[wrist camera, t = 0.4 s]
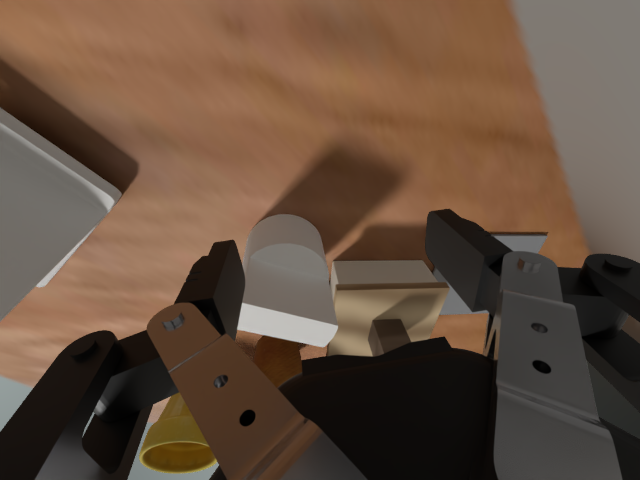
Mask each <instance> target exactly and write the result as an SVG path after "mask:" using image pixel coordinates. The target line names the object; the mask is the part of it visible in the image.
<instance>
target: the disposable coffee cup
mask: <svg viewBox="0 0 640 480" xmlns="http://www.w3.org/2000/svg"><path fill="white" fill-rule="evenodd" d="M253 362H254V363H255V365H256V366H257V367H258V368H259V369H260V370H261V371H262V372H263V373H264V374H265V376H266V377H267V378H268V379H269V380H270V381H271V382H272V383H273V384H274V385H275V387H276V388H278V387H279V386H280V385H281V384H283V383H284V382H285V381H287V380H288V379H290V378H292V377H293V376H295V375H297V374H299V373H302V361H301V356H300V351H299V346H298V342H295V341H290V340H286V339H281V338H276V337H271V336H266V335H265V336H264V337H262V338H261V339H260V340H259V341H258V343H257V346H256V350H255V354H254V359H253Z"/></svg>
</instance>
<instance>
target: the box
mask: <svg viewBox="0 0 640 480" xmlns="http://www.w3.org/2000/svg"><path fill="white" fill-rule="evenodd" d="M427 282H438V281H437V280H436V278H435V277H434V276H433V274H432V273H431V271H430V270H429V268H428V267H427V266H426V264H425V263H424V261H423V260H382V261H333V264H332V272H331V280H330V290H331V294H332V299H333V300H334V293H335V285H336V284H378V283H427Z"/></svg>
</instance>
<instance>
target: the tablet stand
mask: <svg viewBox="0 0 640 480" xmlns="http://www.w3.org/2000/svg"><path fill="white" fill-rule="evenodd" d="M121 195H122V194H121V192H120V191H119V190H118V189H117V188H116V187H114V186H113V185H112V184H110V183H109V182H107V181H106V180H104V179H103V178H101V177H100V176H98V175H97V174H96V173H94V172H93V171H91V170H90V169H88V168H87V167H85V166H84V165H83V164H81V163H80V162H78V161H77V160H75V159H74V158H72V157H71V156H70V155H68V154H67V153H65V152H64V151H62V150H61V149H59V148H58V147H57V146H55V145H54V144H52V143H51V142H49V141H48V140H46V139H45V138H43V137H42V136H41V135H39V134H38V133H36V132H35V131H33V130H32V129H30V128H29V127H28V126H26V125H25V124H23V123H22V122H20V121H19V120H17V119H16V118H15V117H13V116H12V115H10V114H9V113H7V112H6V111H4V110H3V109H1V108H0V321H1V320H2V319H3V318H4V317H5V316H6V315H7V314H8V313H9V312H10V311H11V310H12V309H13V308H14V307H15V306H16V305H17V304H18V303H19V302H20V301H21V300H22V299H23V298H24V297H25V296H26V295H27V294H28V293H29V292H30V291H31V290H32V289H33V288H34V287H35V286H36V287H44V286H45V285H46V284H47V283H48V282H49V281H50V280H51V279H52V278H53V277H54V276H55V274H56V273H57V272H58V271H59V270H60V269H61V268H62V266H63V265H64V264H65V263H66V262H67V261H68V259H69V258H70V257H71V256H72V255H73V254H74V252H75V251H76V250H77V249H78V248H79V247H80V245H81V244H82V243H83V242H84V241H85V240H86V239H87V237H88V236H89V235H90V234H91V233H92V232H93V230H94V229H95V228H96V227H97V226H98V225H99V223H100V222H101V221H102V220H103V219H104V218H105V216H106V215H107V214H108V213H109V212H110V211H111V209H112V208H113V207H114V206H115V205H116V203H117V202H118V200H119V199H120V197H121Z"/></svg>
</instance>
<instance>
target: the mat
mask: <svg viewBox="0 0 640 480" xmlns="http://www.w3.org/2000/svg"><path fill="white" fill-rule="evenodd" d="M491 236H494V237H495V238H496V239H498V240H499V241H501V242H502V243H503V244H505V245H506V246H507V247H509V248H510V249H511V250H513V251H527V252H533V253H536V254H538V252H539V250H540V248H541V247H542V245H543V243H544V242H545V240H546V238H547V235H543V234H491ZM432 274H433V276H434V277H435V278H436V280H437V281H438V282H446V283H447V284H448V286H449V287H450V289H449V292H448V294H447V297H446V299H445V301H444V304H443V306H442V309H441V311H440V313H439V315H448V314H475V313H489V312H488V311H487V310H484V311H478V312H472V311H471V310H470V309H469V308H468V306H467V305H466V304H465V303H464V301H463V300H462V299H461V298H460V296H459V295H458V294H457V293H456V292H455V290H454V289H453V288H452V287H451V285H450V284H449V283H448V282H447V281H446V279H445V278H444V277H443V276H442V274H441V273H440V272H439V271H438V270H437V268H436V267H434V270H433V272H432Z"/></svg>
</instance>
